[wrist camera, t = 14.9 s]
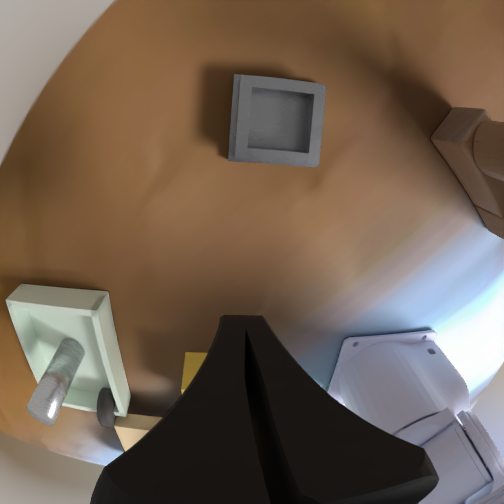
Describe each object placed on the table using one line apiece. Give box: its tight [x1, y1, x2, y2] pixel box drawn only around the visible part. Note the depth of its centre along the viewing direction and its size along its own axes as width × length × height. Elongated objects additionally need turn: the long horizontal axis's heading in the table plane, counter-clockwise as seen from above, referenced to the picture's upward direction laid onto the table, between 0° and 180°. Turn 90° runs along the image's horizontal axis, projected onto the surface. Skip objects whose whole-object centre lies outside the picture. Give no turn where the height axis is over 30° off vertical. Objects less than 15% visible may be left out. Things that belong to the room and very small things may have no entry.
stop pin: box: [27, 338, 85, 425], centre depth 18 cm, size 2×2×7 cm
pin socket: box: [228, 74, 326, 168], centre depth 16 cm, size 5×5×2 cm
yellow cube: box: [181, 352, 208, 394], centre depth 22 cm, size 4×4×4 cm
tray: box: [6, 284, 131, 417], centre depth 21 cm, size 8×11×2 cm
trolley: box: [97, 387, 163, 452], centre depth 24 cm, size 10×14×6 cm
